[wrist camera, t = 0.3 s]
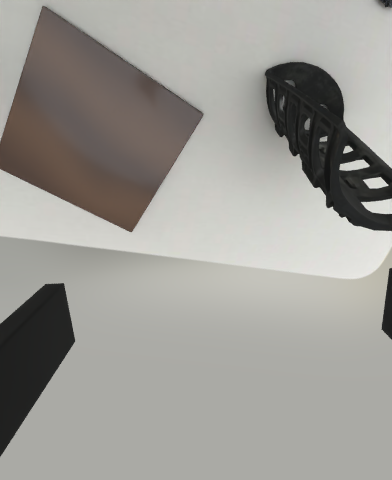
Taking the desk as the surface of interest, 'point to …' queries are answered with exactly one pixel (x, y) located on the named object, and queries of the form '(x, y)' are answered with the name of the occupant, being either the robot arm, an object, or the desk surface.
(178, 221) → the desk surface
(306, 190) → the desk surface
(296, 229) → the desk surface
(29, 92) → the board
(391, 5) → the computer mouse
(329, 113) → the holder
